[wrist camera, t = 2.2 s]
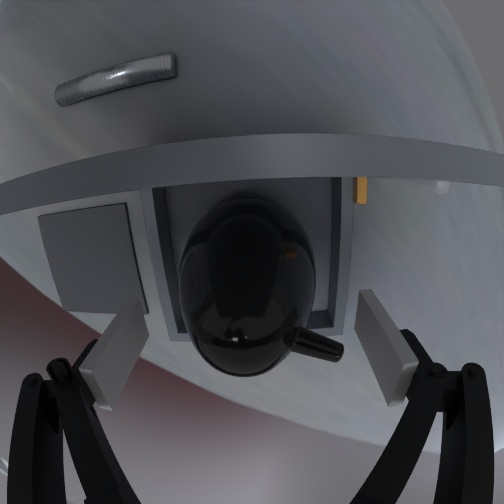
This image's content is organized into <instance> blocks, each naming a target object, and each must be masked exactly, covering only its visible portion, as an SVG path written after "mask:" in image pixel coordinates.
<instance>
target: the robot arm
mask: <svg viewBox="0 0 504 504" xmlns="http://www.w3.org/2000/svg"><path fill="white" fill-rule="evenodd" d="M354 329H355V331H356V334H357V336H358V338H359V340H360V342H361V345H362V347H363V349H364V351H365V353H366V356H367V358H368V360H369V362H370V365H371V367H372V369H373V372H374V374H375V376H376V378H377V381H378V383H379V385H380V388H381V390H382V393H383V395H384V397H385V400H386V402H387V405H388V407H390V406H394V405H399V404H403V401H404V399H405V397H406V396H407V398H408V400H409V402H408V404H407V407H406V409H405V411H404V413H403V415H402V417H401V419H400V421H399V423H398V425H397V427H396V429H395V431H394V433H393V435H392V437H391V439H390V441H389V442H388V444H387V446H386V448H385V450H384V451H383V453H382V455H381V457H380V458H379V460H378V462H377V464H376V465H375V467H374V468H373V470H372V471H371V473H370V475H369V476H368V478H367V479H366V481H365V482H364V484H363V485H362V487H361V488H360V490H359V491H358V493H357V494H356V495H355V497H354V498H353V500H352V501H351V502H350V504H395V503H396V501H397V500H398V498H399V496H400V494H401V493H402V491H403V489H404V487H405V485H406V483H407V481H408V479H409V477H410V475H411V473H412V471H413V469H414V467H415V465H416V463H417V461H418V458H419V456H420V454H421V452H422V449H423V447H424V445H425V442H426V440H427V437H428V435H429V432H430V429H431V427H432V424H433V421H434V419H435V416H436V413H437V412H443V428H442V444H441V455H440V465H439V472H438V480H437V486H436V492H435V497H434V502H433V504H492V503H493V488H494V441H493V427H492V416H491V407H490V400H489V393H488V386H487V381H486V375H485V371H484V369H483V368H482V367H481V366H480V365H478V364H476V363H467V364H465V365H464V366H463V367H462V369H461V371H447V369H446V368H445V367H444V366H443V365H442V364H439V363H435V362H433V361H432V360H431V358H430V357H429V355H428V354H427V352H426V351H425V349H424V348H423V346H422V345H421V343H420V342H419V341H418V339H417V338H416V336H415V335H414V334H413V333H412V332H411V331H409V330H408V329H403V330H399V329H398V328H397V326H396V325H395V323H394V322H393V320H392V319H391V317H390V316H389V314H388V313H387V311H386V310H385V309H384V307H383V306H382V304H381V303H380V301H379V300H378V298H377V297H376V296H375V294H374V293H373V291H372V290H371V289H369V290H359V297H358V305H357V313H356V320H355V327H354ZM148 337H149V333H148V329H147V326H146V322H145V319H144V315H143V311H142V307H141V303H140V299H128V300H127V302H126V303H125V304H124V306H123V307H122V308H121V310H120V311H119V312H118V314H117V315H116V316H115V318H114V319H113V320H112V322H111V323H110V324H109V326H108V327H107V329H106V330H105V331H104V333H103V334H102V336H101V337H100V338H99V340H98V339H94V340H93V341H92V342H90V343H89V344H88V345H87V346H86V348H85V349H84V351H83V352H82V353H81V356H79V357H78V359H77V360H76V362H75V363H74V365H73V366H72V367H71V365H70V363H69V361H68V360H67V359H65V358H57V359H54V360H52V361H51V362H50V363H49V364H48V365H47V368H46V370H47V372H48V374H49V376H50V378H51V379H52V380H43V378H42V376H41V375H40V374H38V373H32V374H29V375H27V376H26V377H25V378H24V380H23V382H22V386H21V390H20V394H19V398H18V403H17V408H16V413H15V419H14V424H13V430H12V437H11V445H10V454H9V464H8V481H7V504H67V502H66V494H65V482H64V466H63V429H64V433H65V437H66V440H67V444H68V447H69V450H70V454H71V457H72V460H73V463H74V466H75V469H76V471H77V474H78V477H79V479H80V482H81V485H82V487H83V490H84V492H85V495H86V499H85V500H84V504H141V503H140V501H139V499H138V498H137V496H136V494H135V493H134V491H133V489H132V487H131V486H130V484H129V482H128V480H127V478H126V477H125V475H124V473H123V471H122V469H121V467H120V465H119V463H118V461H117V459H116V457H115V455H114V453H113V451H112V449H111V446H110V444H109V442H108V440H107V437H106V435H105V433H104V431H103V428H102V426H101V423H100V421H99V419H98V416H97V413H96V411H95V409H94V407H93V404H94V402H95V401H96V402H97V404H98V406H99V407H100V408H102V409H107V410H113V408H114V406H115V404H116V402H117V399H118V397H119V395H120V393H121V391H122V389H123V387H124V385H125V383H126V381H127V379H128V377H129V375H130V373H131V371H132V369H133V367H134V365H135V362H136V360H137V359H138V357H139V355H140V353H141V351H142V349H143V347H144V345H145V343H146V341H147V339H148Z"/></svg>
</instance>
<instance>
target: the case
mask: <svg viewBox="0 0 504 504" xmlns="http://www.w3.org/2000/svg"><path fill="white" fill-rule="evenodd" d="M297 177H332V242H331V266H330V283H329V298H328V311H318V312H311V314H310V317H309V320H308V322H307V325H306V327H305V328H306V329H309V330H311V331H313V332H316V333H318V334H320V335H323V336H333V335H343V327H344V320H345V311H346V302H347V293H348V283H349V271H350V259H351V243H352V224H353V201H354V202H355V203H357V204H367V177H380V178H392V179H396V180H399V181H402V182H405V183H408V184H410V185H413V186H416V187H419V188H422V189H425V190H427V191H430V192H433V193H435V194H438V195H445V194H446V193H447V192H448V190H449V188H450V181H453V182H464V183H474V184H483V185H492V186H500V187H504V155H503V154H499V153H494V152H490V151H485V150H480V149H475V148H470V147H464V146H459V145H453V144H447V143H440V142H433V141H425V140H417V139H409V138H399V137H388V136H375V135H358V134H331V133H287V134H259V135H242V136H228V137H217V138H207V139H197V140H189V141H181V142H173V143H166V144H159V145H153V146H147V147H141V148H135V149H129V150H124V151H119V152H114V153H109V154H104V155H100V156H95V157H91V158H87V159H82V160H78V161H74V162H70V163H66V164H63V165H59V166H55V167H52V168H48V169H45V170H41V171H38V172H35V173H31V174H28V175H25V176H22V177H19V178H16V179H13V180H10V181H7V182H4V183H2V184H0V215H3V214H7V213H11V212H15V211H20V210H24V209H29V208H33V207H38V206H43V205H48V204H53V203H58V202H64V201H69V200H75V199H80V198H86V197H92V196H98V195H105V194H112V193H118V192H125V191H133V190H140V189H141V196H142V204H143V211H144V217H145V224H146V230H147V236H148V241H149V247H150V253H151V258H152V263H153V268H154V273H155V278H156V283H157V287H158V292H159V296H160V301H161V305H162V309H163V314H164V318H165V322H166V326H167V330H168V334H169V337H170V341H191V339H190V337H189V335H188V332H187V329H186V326H185V323H184V320H183V316H182V312H181V307H180V301H179V289H178V281H177V276H176V270H175V264H174V258H173V252H172V246H171V239H170V233H169V226H168V219H167V211H166V204H165V196H164V187H166V186H175V185H185V184H195V183H207V182H219V181H233V180H249V179H269V178H297Z"/></svg>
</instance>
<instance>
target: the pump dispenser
mask: <svg viewBox="0 0 504 504" xmlns="http://www.w3.org/2000/svg"><path fill="white" fill-rule="evenodd" d="M178 289H179V301H180V307H181V312H182V316H183V320H184V323H185V326H186V329H187V332H188V335H189V337H190V339H191V341H192V343H193V345H194V347H195V348H196V350H197V351H198V353H199V354H200V355H201V356H202V358H203V359H204V360H205V361H206V362H207V363H208V364H209V365H211V366H212V367H213V368H215V369H216V370H218V371H220V372H222V373H225V374H227V375H231V376H235V377H253V376H258V375H261V374H264V373H266V372H268V371H270V370H272V369H273V368H275V367H276V366H277V365H278V364H279V363H281V362H282V361H283V360H284V359H285V358H286V357H287V356H288V355H289V354H290V352H291V351H292V352H296V353H300V354H303V355H307V356H311V357H315V358H319V359H323V360H327V361H331V362H338V361H340V359H341V358H342V356H343V353H344V346H343V344H341V343H339V342H337V341H334V340H332V339H330V338H327V337H325V336H323V335H320V334H318V333H316V332H313V331H311V330H309V329H306V328H305V327H306V325H307V322H308V320H309V317H310V314H311V311H312V307H313V302H314V297H315V289H316V268H315V260H314V254H313V249H312V246H311V243H310V240H309V238H308V236H307V234H306V232H305V230H304V228H303V227H302V225H301V224H300V223H299V221H298V220H297V219H296V218H295V217H294V216H293V215H292V214H290V213H289V212H288V211H287V210H285V209H284V208H282V207H280V206H278V205H276V204H274V203H271V202H268V201H264V200H260V199H237V200H232V201H229V202H226V203H223V204H221V205H219V206H217V207H215V208H213V209H212V210H210V211H209V212H208V213H207V214H205V215H204V216H203V217H202V218H201V219H200V220H199V222H198V223H197V224H196V226H195V227H194V228H193V230H192V232H191V233H190V235H189V237H188V240H187V242H186V245H185V248H184V251H183V255H182V259H181V263H180V269H179V280H178Z"/></svg>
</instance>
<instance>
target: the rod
mask: <svg viewBox="0 0 504 504" xmlns="http://www.w3.org/2000/svg"><path fill="white" fill-rule="evenodd" d="M176 75H177V62H176V56H175V54H174V52H173V51H171V52H166V53H161V54H157V55H152V56H148V57H144V58H140V59H136V60H132V61H128V62H125V63H121V64H118V65H114V66H111V67H108V68H104V69H101V70H98V71H95V72H92V73H90V74H87V75H84V76H81V77H79V78H76V79H73V80H71V81H68V82H66V83H63V84H61V85H59V86H58V87H57V88H56V90H55V99H56V102H57V103H58V105H59V106H62V107H63V106H66V105H69V104H71V103H74V102H77V101H80V100H83V99H86V98H89V97H92V96H95V95H99V94H102V93H105V92H109V91H112V90H116V89H120V88H124V87H128V86H132V85H136V84H140V83H144V82H149V81H154V80H159V79H164V78H169V77H175V76H176Z"/></svg>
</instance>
